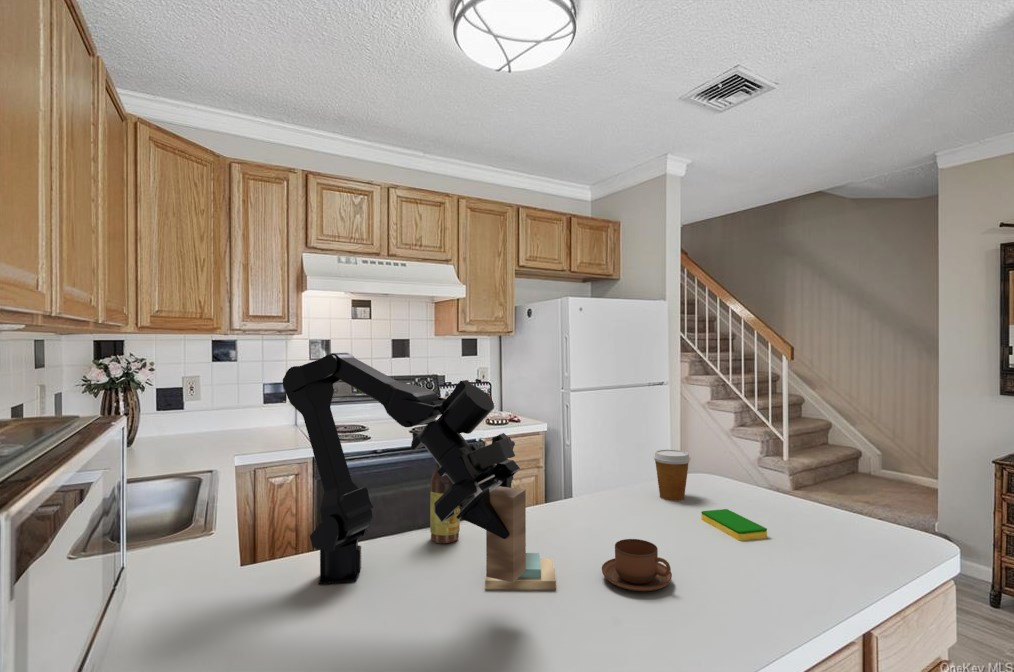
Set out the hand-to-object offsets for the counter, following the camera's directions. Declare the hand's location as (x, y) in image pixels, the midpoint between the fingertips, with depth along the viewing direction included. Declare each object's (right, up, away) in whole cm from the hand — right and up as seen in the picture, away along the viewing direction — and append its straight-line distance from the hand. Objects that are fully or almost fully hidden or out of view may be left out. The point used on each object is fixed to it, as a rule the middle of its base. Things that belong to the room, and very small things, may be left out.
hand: (514, 531), depth 80 cm
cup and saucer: (+22, -14, +13) cm, 29 cm away
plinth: (+1, -13, +14) cm, 20 cm away
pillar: (-1, -7, +1) cm, 7 cm away
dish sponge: (+50, -14, +38) cm, 64 cm away
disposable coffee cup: (+43, -14, +62) cm, 77 cm away
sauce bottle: (-14, -14, +33) cm, 38 cm away
